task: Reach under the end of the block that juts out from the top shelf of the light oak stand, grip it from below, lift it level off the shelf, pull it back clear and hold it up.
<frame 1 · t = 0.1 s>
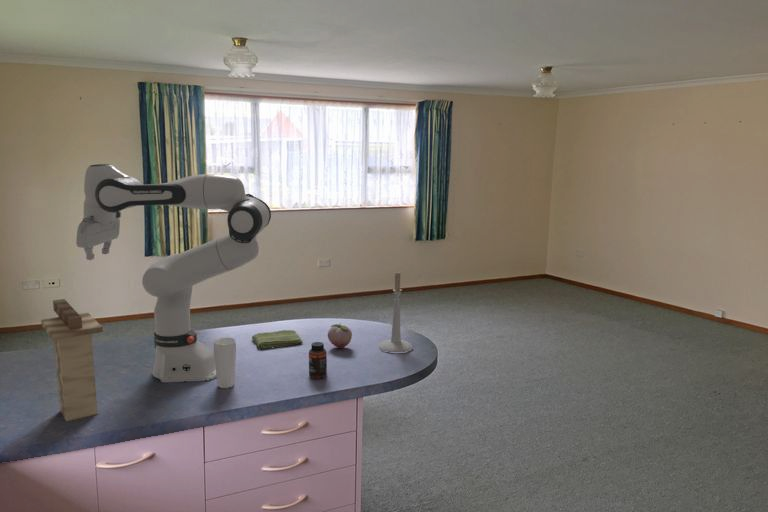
hand: (98, 256, 189), 39 cm above the worktop, tool pointing down, fingers open, 8 cm apart
supplement bottle: (317, 376, 196), on the worktop
washcloth: (277, 343, 228), on the worktop
drinking glass: (226, 386, 187), on the worktop
block: (67, 318, 165), point 26 cm above the worktop, touching stand
candlestick: (395, 348, 224), on the worktop
decorative fruit: (340, 348, 222), on the worktop
stand: (78, 412, 167), on the worktop
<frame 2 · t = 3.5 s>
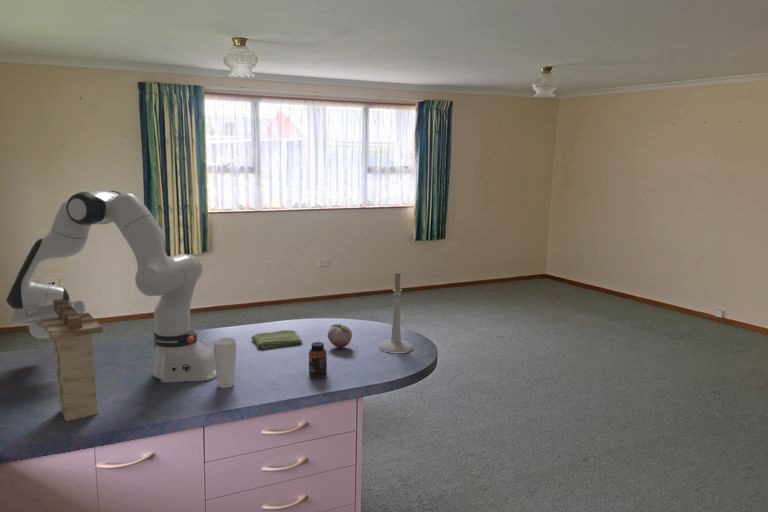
hand: (52, 305, 183), 25 cm above the worktop, tool pointing upward, fingers open, 8 cm apart
nothing on the worktop moved.
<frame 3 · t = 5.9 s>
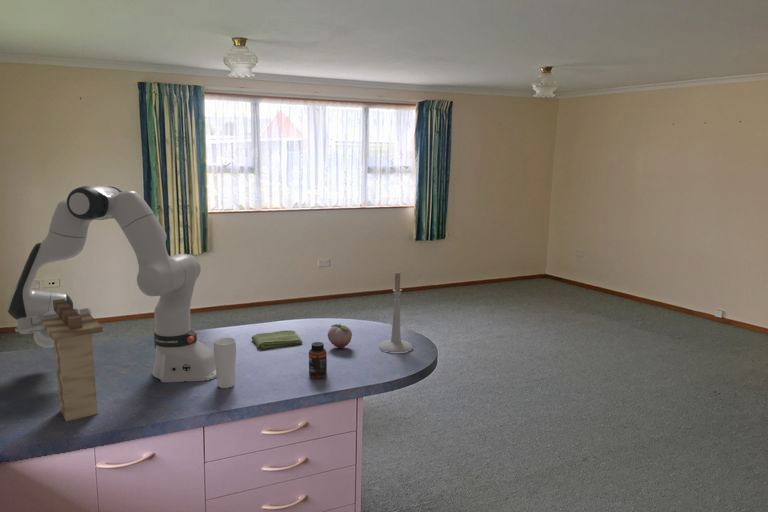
hand: (58, 313, 176), 24 cm above the worktop, tool pointing upward, fingers open, 8 cm apart
nothing on the worktop moved.
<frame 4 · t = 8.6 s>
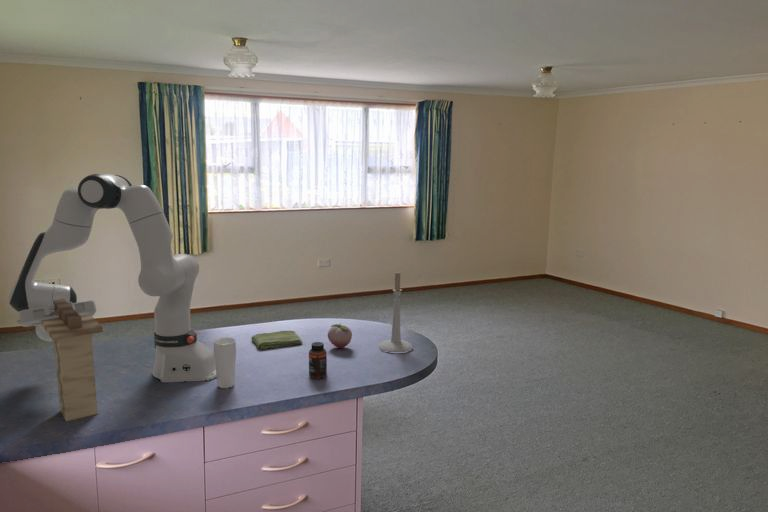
hand: (61, 305, 170), 28 cm above the worktop, tool pointing upward, fingers closed on block, 3 cm apart
block: (67, 318, 165), point 27 cm above the worktop, touching gripper, stand
everything else where it was.
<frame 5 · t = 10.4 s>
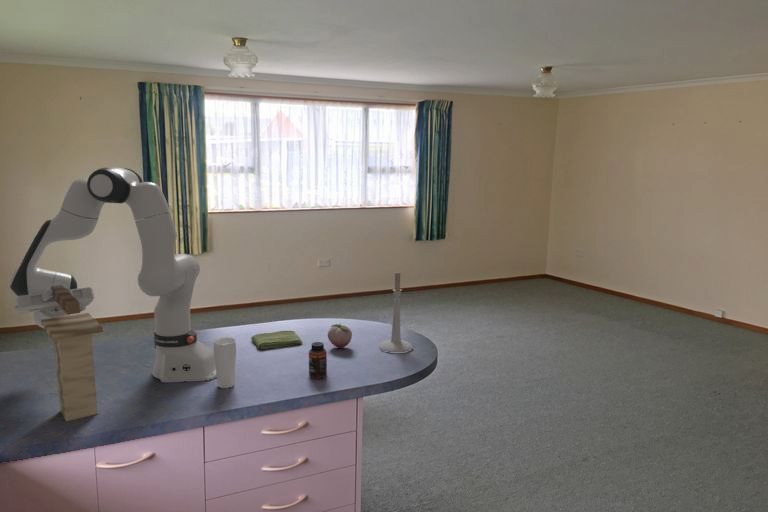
hand: (59, 291, 170), 32 cm above the worktop, tool pointing upward, fingers closed on block, 3 cm apart
block: (65, 304, 165), point 30 cm above the worktop, touching gripper
everything else where it was.
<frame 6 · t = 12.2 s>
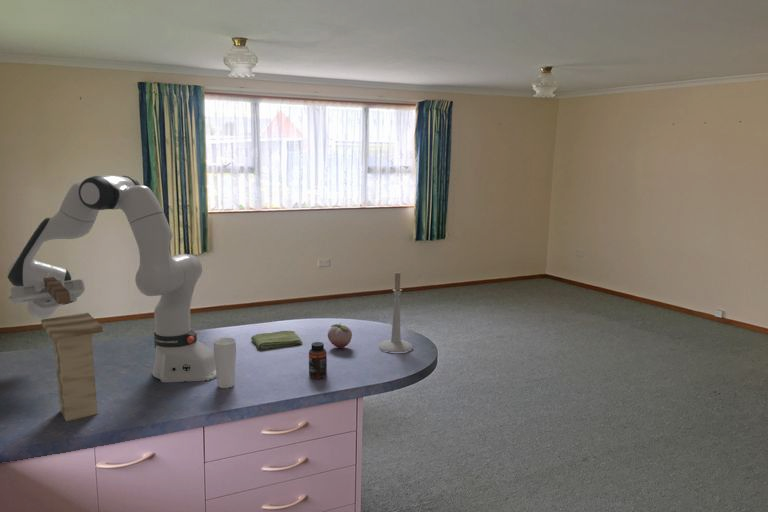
hand: (51, 283, 179), 33 cm above the worktop, tool pointing upward, fingers closed on block, 3 cm apart
block: (56, 294, 174), point 31 cm above the worktop, touching gripper
everything else where it was.
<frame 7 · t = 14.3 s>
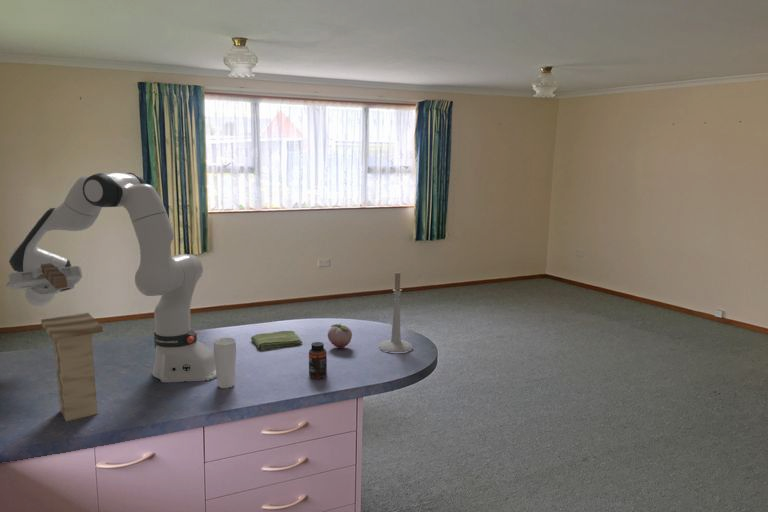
hand: (48, 269, 181), 36 cm above the worktop, tool pointing upward, fingers closed on block, 3 cm apart
block: (53, 280, 176), point 34 cm above the worktop, touching gripper
everything else where it was.
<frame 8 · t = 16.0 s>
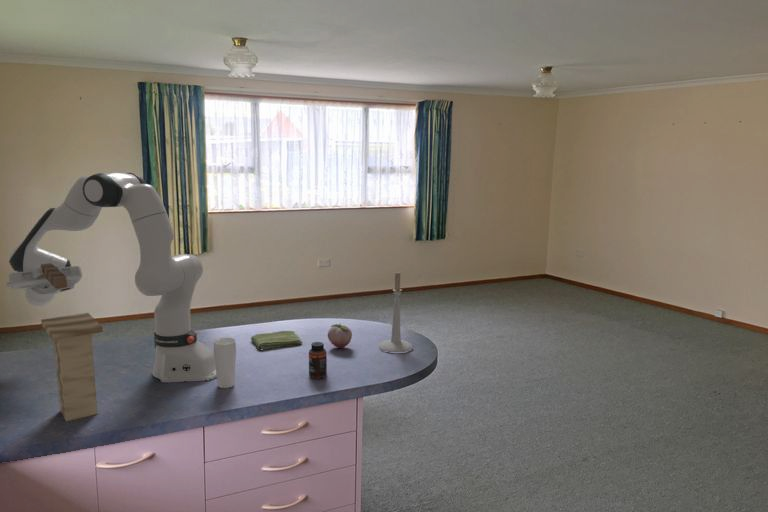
hand: (48, 269, 181), 36 cm above the worktop, tool pointing upward, fingers closed on block, 3 cm apart
block: (53, 280, 176), point 34 cm above the worktop, touching gripper
everything else where it was.
at the end: the gripper is holding block; block touching gripper; block moved 17.7 cm from its start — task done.
